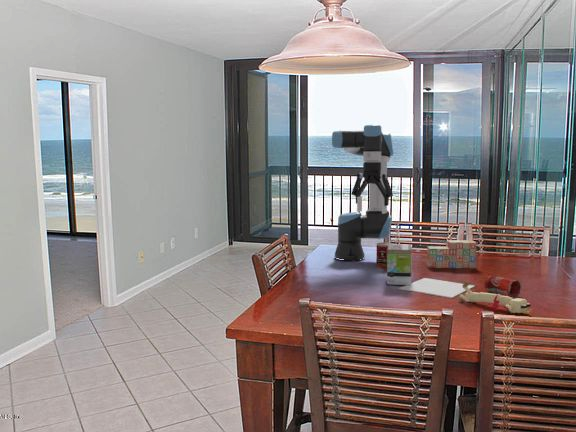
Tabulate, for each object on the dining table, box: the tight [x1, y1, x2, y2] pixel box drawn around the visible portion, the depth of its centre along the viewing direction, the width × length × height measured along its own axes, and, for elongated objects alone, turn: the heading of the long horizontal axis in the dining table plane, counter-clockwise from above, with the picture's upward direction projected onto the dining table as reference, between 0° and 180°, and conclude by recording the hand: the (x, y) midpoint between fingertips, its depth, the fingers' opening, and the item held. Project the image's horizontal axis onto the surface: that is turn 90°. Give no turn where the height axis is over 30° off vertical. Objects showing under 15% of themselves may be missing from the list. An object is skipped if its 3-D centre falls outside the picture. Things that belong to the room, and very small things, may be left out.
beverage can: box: [484, 275, 522, 299], centre depth 211 cm, size 7×12×7 cm, turn 36°
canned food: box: [375, 241, 394, 269], centre depth 262 cm, size 8×8×11 cm
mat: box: [398, 277, 476, 299], centre depth 222 cm, size 22×22×1 cm
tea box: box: [386, 243, 412, 286], centre depth 232 cm, size 15×10×15 cm, turn 168°
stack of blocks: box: [426, 239, 477, 269], centre depth 260 cm, size 21×6×12 cm, turn 85°
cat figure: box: [458, 280, 532, 315], centre depth 194 cm, size 10×9×25 cm
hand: (371, 212), depth 239 cm, fingers open, 12 cm apart
